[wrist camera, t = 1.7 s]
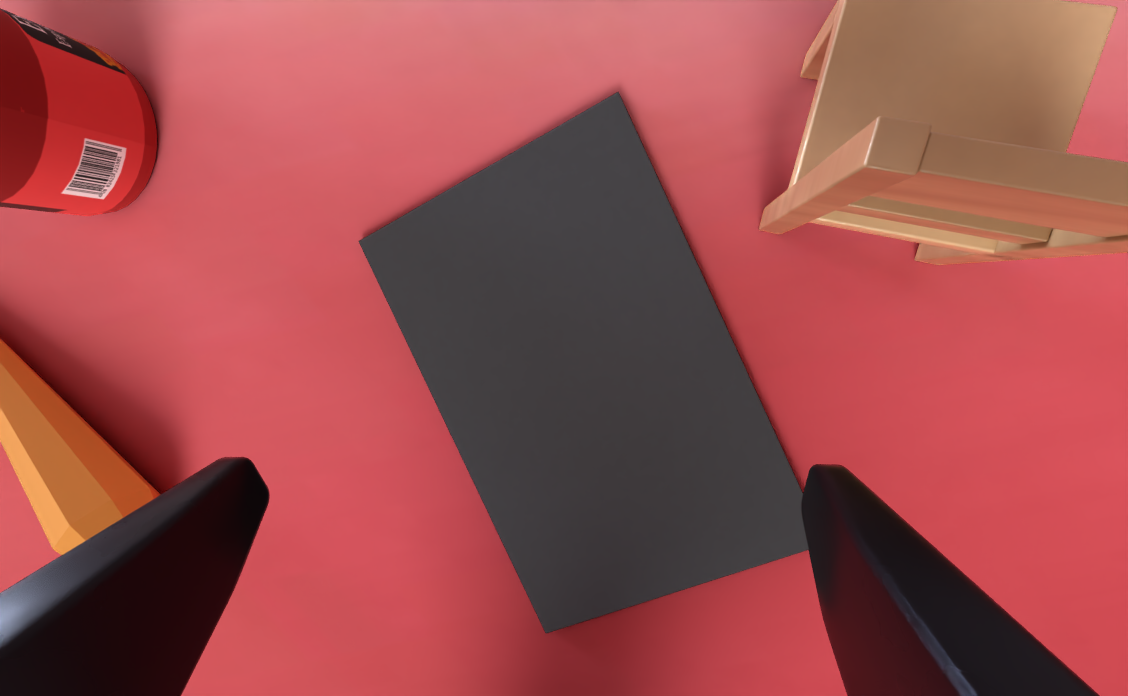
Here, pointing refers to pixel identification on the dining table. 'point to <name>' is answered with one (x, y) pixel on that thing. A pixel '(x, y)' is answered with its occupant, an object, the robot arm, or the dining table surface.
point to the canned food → (69, 124)
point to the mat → (588, 374)
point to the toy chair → (957, 131)
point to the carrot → (62, 460)
